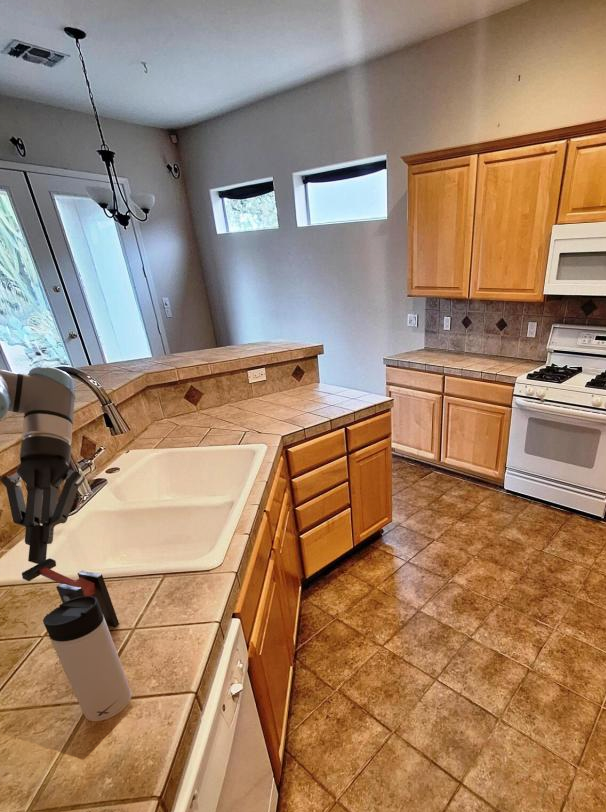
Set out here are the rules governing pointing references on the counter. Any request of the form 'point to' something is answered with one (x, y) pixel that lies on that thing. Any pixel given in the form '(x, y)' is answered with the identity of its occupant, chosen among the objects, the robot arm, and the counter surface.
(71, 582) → the lever
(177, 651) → the counter surface
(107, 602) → the bracket
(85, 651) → the travel mug
